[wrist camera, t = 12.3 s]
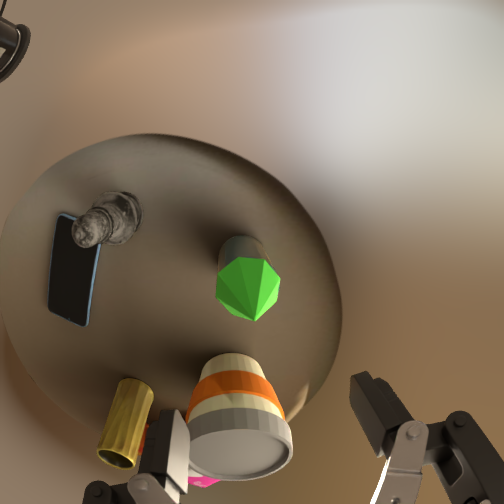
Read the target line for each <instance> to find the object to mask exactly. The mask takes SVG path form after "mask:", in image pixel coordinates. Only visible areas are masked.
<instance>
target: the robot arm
mask: <svg viewBox="0 0 504 504" xmlns="http://www.w3.org/2000/svg"><path fill="white" fill-rule="evenodd" d="M6 1H7V0H4V1H3V4H2V8H1V11H0V74H1V73H2V72H3V71H4V70H5V69H6V68H7V67H8V66H9V65H10V63H11V62H12V61H13V59H14V57H15V56H16V54H17V52H18V50H19V48H20V45H21V41H22V33H21V32H20V31H19V30H18V26H16V25H14V24H13V23H11V22H9V21H8V20H6V19H4V18H3V17H1V16H2V13H3V11H4V8H5V5H6ZM349 398H350V404H351V407H352V409H353V411H354V413H355V415H356V417H357V419H358V421H359V422H360V425H361V426H362V428H363V430H364V432H365V434H366V436H367V438H368V440H369V442H370V444H371V446H372V448H373V450H374V452H375V454H376V456H377V457H380V456H382V455H385V456H386V459H387V461H386V465H385V468H384V470H383V473H382V476H381V479H380V482H379V485H378V487H377V490H376V492H375V495H374V497H373V499H372V501H371V503H370V504H415V501H416V499H417V495H418V491H419V488H420V484H421V480H422V473H421V469H422V466H424V465H428V464H432V466H433V468H434V470H435V471H436V474H437V475H438V477H439V479H440V481H441V483H442V485H443V487H444V489H445V491H446V493H447V495H448V497H449V499H450V501H451V503H452V504H504V462H503V460H502V459H501V457H500V456H499V454H498V453H497V451H496V450H495V448H494V447H493V445H492V444H491V443H490V441H489V440H488V438H487V437H486V435H485V434H484V433H483V431H482V430H481V429H480V427H479V426H478V424H477V423H476V422H475V420H474V419H473V418H472V416H471V415H470V414H469V413H467V412H465V411H455V412H453V413H451V414H450V415H449V416H448V417H447V419H446V421H443V422H438V423H434V424H424V423H423V422H420V421H416V420H414V419H413V418H412V416H411V415H410V413H409V412H408V410H407V409H406V408H405V406H404V405H403V403H402V402H401V401H400V399H399V398H398V397H397V395H396V394H395V392H393V389H392V388H391V387H390V385H389V384H388V383H387V382H386V381H384V380H382V379H381V378H376V379H374V380H373V379H372V377H371V375H370V374H369V373H368V372H367V371H364V372H361V373H358V374H355V375H352V376H351V380H350V396H349ZM189 449H190V433H189V430H188V427H187V425H186V424H185V422H184V420H183V418H182V416H181V414H180V412H179V411H178V410H177V409H173V410H162V411H161V412H160V416H159V421H153V422H152V423H151V424H150V426H149V427H148V429H147V432H146V437H145V441H144V447H143V451H142V456H141V461H140V466H139V471H138V473H137V474H136V475H134V476H133V477H132V478H131V479H130V480H129V481H128V482H127V483H124V484H118V485H112V486H109V485H108V484H107V483H105V482H103V481H94V482H91V483H90V484H89V485H88V486H87V487H86V489H85V493H84V498H83V503H82V504H181V503H180V502H179V494H187V485H188V465H189Z"/></svg>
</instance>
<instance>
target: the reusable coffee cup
mask: <svg viewBox="0 0 504 504" xmlns="http://www.w3.org/2000/svg"><path fill="white" fill-rule="evenodd" d="M186 425H187V427H188V430H189V433H190V449H189V465H188V467H189V468H190V469H192V470H193V471H195V472H196V473H198V474H201V475H203V476H206V477H209V478H212V479H218V480H225V481H245V480H252V479H258V478H261V477H265V476H268V475H270V474H272V473H275V472H277V471H278V470H280V469H282V468H283V467H284V466H285V465H286V464H287V463H288V462H289V461H290V460H291V458H292V455H293V446H292V437H291V430H290V428H289V426H288V424H287V423H286V422H285V421H284V412H283V410H282V408H281V405H280V403H279V401H278V399H277V396H276V394H275V392H274V390H273V387H272V386H271V385H270V383H269V382H268V381H267V380H266V379H265V377H264V374H263V372H262V370H261V367H260V365H259V364H258V363H257V362H256V361H255V360H254V359H252V358H251V357H249V356H246V355H243V354H238V353H226V354H221V355H218V356H216V357H214V358H212V359H211V360H209V361H208V362H207V363H206V364H205V366H204V368H203V370H202V373H201V377H200V380H199V383H198V384H197V385H196V387H195V388H194V390H193V393H192V397H191V400H190V403H189V407H188V410H187V414H186Z"/></svg>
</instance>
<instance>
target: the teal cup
mask: <svg viewBox="0 0 504 504" xmlns="http://www.w3.org/2000/svg"><path fill="white" fill-rule="evenodd" d="M237 257H244V258H255V259H265V260H266V262H267V263H268V264H269V265H270V266H271V268H272V269H273V270H274V271H275V269H274V267H273V265H272V263H271V261H270V259H269V257H268V255H267V253H266V251H265V250H264V248H263V246H262V245H261V244H260V243H259V242H258V241H257V240H256V239H254V238H252V237H250V236H244V235H241V236H235V237H233V238H231V239H229V240H228V241H226V242H225V243H224V245H223V246H222V248H221V249H220V252H219V257H218V268H217V274H218V272H220V271H221V270H222V269H224V268H225V267H226V266H227V265H229V264H230V263H231V262H232V261H234V260H235V259H236V258H237ZM275 273H276V271H275ZM276 274H277V273H276ZM277 275H278V274H277ZM216 286H217V285H216ZM279 289H280V284H279V288H278V292H279ZM277 296H278V294H277Z"/></svg>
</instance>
